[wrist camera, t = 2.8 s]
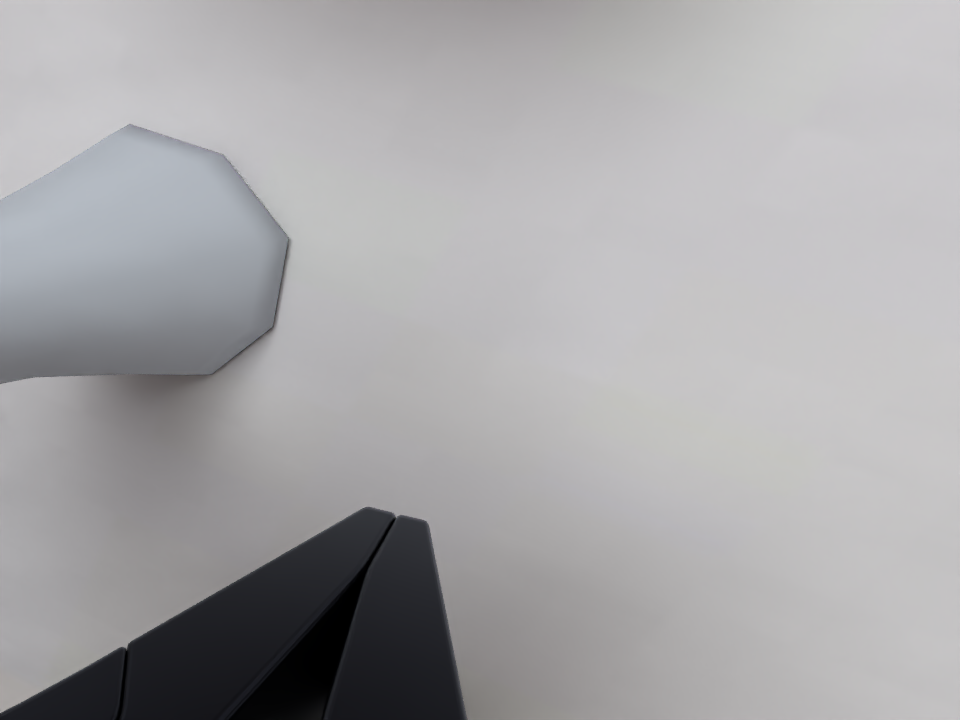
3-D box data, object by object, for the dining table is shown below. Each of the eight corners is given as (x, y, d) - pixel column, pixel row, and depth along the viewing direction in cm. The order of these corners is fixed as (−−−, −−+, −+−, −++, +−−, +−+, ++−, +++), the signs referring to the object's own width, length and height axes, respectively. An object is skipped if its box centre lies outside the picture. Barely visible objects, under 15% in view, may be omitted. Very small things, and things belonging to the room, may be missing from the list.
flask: (227, 407, 20) (-76, 632, 10) (40, 278, 19) (-461, 395, 10) (332, 230, 17) (58, 317, 8) (120, 76, 17) (-446, -25, 7)
